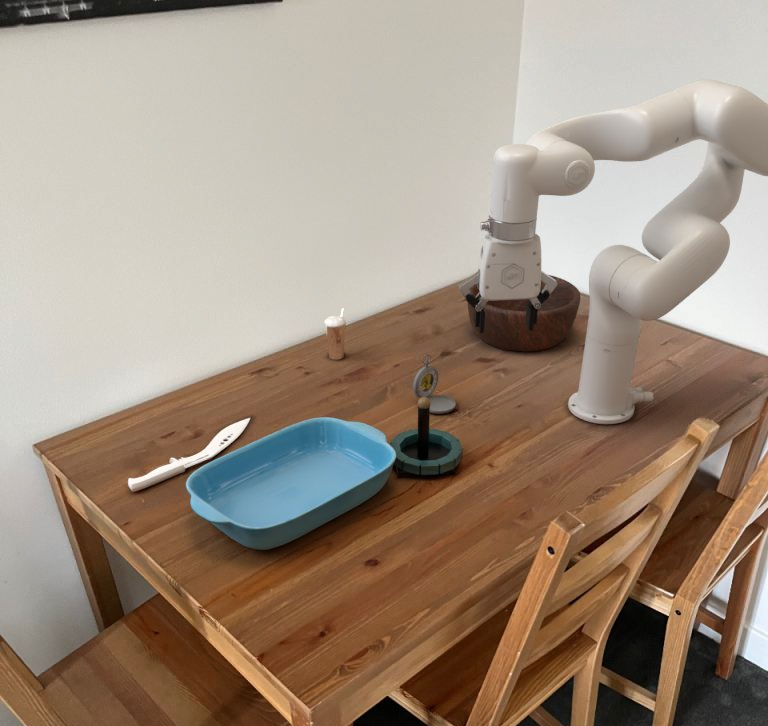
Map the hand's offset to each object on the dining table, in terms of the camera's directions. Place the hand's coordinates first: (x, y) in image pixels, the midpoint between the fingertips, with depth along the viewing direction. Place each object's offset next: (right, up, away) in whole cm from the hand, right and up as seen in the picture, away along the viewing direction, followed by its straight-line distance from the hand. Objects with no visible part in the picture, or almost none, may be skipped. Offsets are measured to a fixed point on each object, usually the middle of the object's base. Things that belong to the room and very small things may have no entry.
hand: (504, 328), depth 148 cm
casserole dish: (-36, -30, -6) cm, 47 cm away
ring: (-14, -22, +3) cm, 26 cm away
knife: (-55, -22, +6) cm, 59 cm away
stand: (-14, -23, +4) cm, 27 cm away
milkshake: (-31, +2, +38) cm, 49 cm away
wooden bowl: (+10, +9, +47) cm, 49 cm away
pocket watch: (-11, -11, +20) cm, 26 cm away
